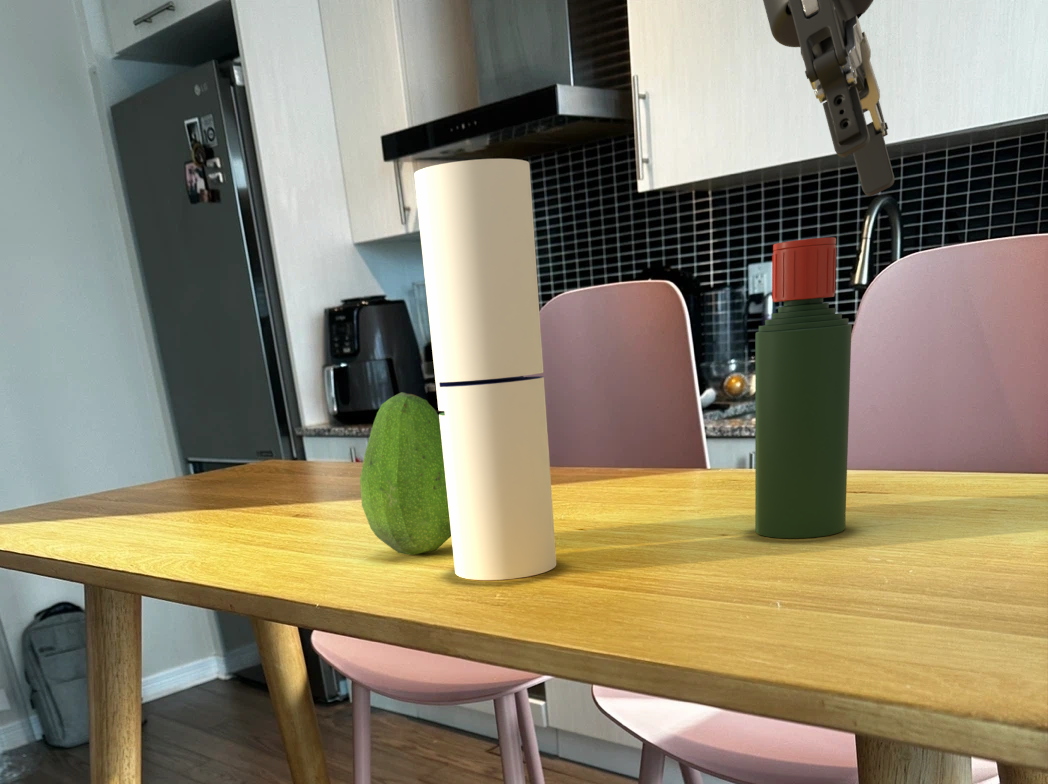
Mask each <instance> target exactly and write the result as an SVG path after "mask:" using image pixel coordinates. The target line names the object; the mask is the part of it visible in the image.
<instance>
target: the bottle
mask: <svg viewBox="0 0 1048 784" xmlns="http://www.w3.org/2000/svg"><path fill="white" fill-rule="evenodd" d="M829 306H830V303H829V302H824V298H814V299H802V300H792V301H784V302H783V306H778V307H777V312H776V313H775V312H774V313H771V318H770V319H765V320H764V325H758V331H756V332H755V339H754V340H755V341H754V342H755V345H754V346H755V349H754V350H755V354H754V355H755V357H754V358H755V361H754V362H755V366H754V367H755V375H754V376H755V377H754V378H755V384H754V385H755V386H754V387H755V395H754V397H755V399H754V400H755V401H754V402H755V405H754V406H755V408H754V409H755V412H754V413H755V414H754V415H755V416H754V417H755V419H754V422H755V423H754V424H755V426H754V427H755V433H754V434H755V441H754V442H755V444H754V445H755V447H754V448H755V450H754V451H755V454H754V455H755V458H754V459H755V466H754V467H755V468H754V469H755V473H754V475H755V476H754V477H755V478H754V479H755V480H754V481H755V482H754V483H755V484H754V485H755V486H754V487H755V491H754V493H755V498H754V499H755V500H754V501H755V502H754V503H755V504H754V505H755V506H754V507H755V509H754V510H755V512H754V513H755V516H754V517H755V518H754V519H755V520H754V521H755V526H754V528H755V533H756V535H757V534H758V535H760V536H762V537H768V538H775V539H813V538H821V537H827V536H832V535H833V536H834V535H836V534H840V533H841V532H844V531H845V529H846V517H847V515H846V513H847V487H848V486H847V483H848V456H849V455H848V452H849V422H850V390H851V389H850V388H851V387H850V386H851V358H852V356H851V353H852V328H853V327H852V324H851V323H849V318H843V314H842V313H841V312H840V313H836V308H835V307H829Z"/></svg>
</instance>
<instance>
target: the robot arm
mask: <svg viewBox="0 0 1048 784" xmlns="http://www.w3.org/2000/svg"><path fill="white" fill-rule="evenodd" d="M762 2H763V5H764V10H765V13H766V17H767V21H768V25H769V29H770V32H771V36H772V38H774V40H775V41H776V42H777V43H779V44H780V45H782V46H784V47H789V48H800V55H801V58H802V60H803V63H804V67H805V71H804V74H805V77H806V79H807V80H808V81H809V83H810V86H811V88H812V90H813V91H814V95H815V98H816V99H817V100H818V101H819V103H820V104H822V107H823V111H824V114H825V115H824V116H825V118H826V123H827V127H828V129H829V133H830V137H831V142H832V145H833V149H834V152H835V153H836V154H837V156H838V157H840V158H847V157H848V156H850V155H851V154H852V156H853V160H854V163H855V167H856V171H857V175H858V178H859V181H860V186H861V189H862V192H863V193H864V195H865V196H867V197H872V196H875V195H876V194H878V193H881V192H883V191H885V190H887V189H889V188H891V187H892V186H893V185H894V184H895V175H894V172H893V167H892V164H891V163H892V162H891V160H890V156H889V153H888V149H887V144H886V142H885V138H884V137H886V136H888V135H889V134H888V133H889V132H888V130H889V126H888V123H887V122H885V117H884V114H883V111H882V107H881V102H880V98H881V90H880V86H879V84H878V81H877V77H876V74H875V71H874V68H873V65H872V61H871V57H872V56H871V55H872V49H871V46H870V43H869V39H868V37H867V34H866V32H865V31H863V30H862V27H861V23H860V20H859V19H860V18H861V17H862V15H864V14H865V13H866V12H867V11H868V9H869V8H870V7H871V5H873V2H874V0H762ZM866 112H869V115H870V117H871V120H872V121H871V122H869V123H867V121H866V117H865V114H864V113H866Z"/></svg>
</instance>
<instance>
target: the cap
mask: <svg viewBox="0 0 1048 784" xmlns="http://www.w3.org/2000/svg"><path fill="white" fill-rule="evenodd" d="M836 244H837V238H836V237H833V236H832V237H816V238H806V239H797V240H789V241H783V242H776V243H774V244H773V245H772V255H771V299H772V302H773V303H781V302H783V303H784V301H792V300H802V299H814V298H823V299H826V298H834V297H835V295H836V289H837V287H836V283H837V282H836V281H837V245H836Z"/></svg>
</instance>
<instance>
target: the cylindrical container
mask: <svg viewBox="0 0 1048 784" xmlns="http://www.w3.org/2000/svg"><path fill="white" fill-rule="evenodd" d="M530 167H531V166H530V162H529V161H527V160H523V159H519V158H518V159H517V158H481V159H468V160H460V161H452V162H445V163H440V164H435V165H429V166H426V167H423V168H421V169H418V170H416V171H415V172H414V173H413V176H414V187H415V193H416V195H415V196H416V205H417V206H416V207H417V214H418V223H419V234H420V245H421V254H422V263H423V265H422V266H423V273H424V283H425V294H426V303H427V312H428V321H429V322H428V323H429V331H430V342H431V350H432V351H431V352H432V360H433V361H432V362H433V369H434V380H435V381H434V382H435V389H436V399H437V408H438V412H440V413H439V414H438V416H439V420H440V429H441V439H442V449H443V459H444V468H445V478H446V488H447V498H448V507H449V517H450V527H451V537H450V538H451V545H452V555H453V565H454V573H455V575H456V576H458V577H459V578H463V579H468V580H476V581H503V580H513V579H520V578H521V579H522V578H526V577H527V578H528V577H532V576H536V575H541V574H544V573H547V572H549V571H551V570H553V569H554V568H556V566H557V553H556V552H557V551H556V539H555V538H556V537H555V521H554V507H553V495H552V479H551V478H552V477H551V464H550V462H551V461H550V449H549V447H550V446H549V435H548V421H547V420H548V419H547V403H546V388H545V377H544V376H541V375H540V376H539V374H543V373H544V359H543V345H542V344H543V343H542V331H541V316H540V315H541V314H540V300H539V299H540V297H539V285H538V284H539V283H538V271H537V270H538V269H537V256H536V239H535V225H534V212H533V211H534V209H533V196H532V195H533V194H532V181H531V168H530ZM531 375H532V376H531ZM533 375H537V376H533Z"/></svg>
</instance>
